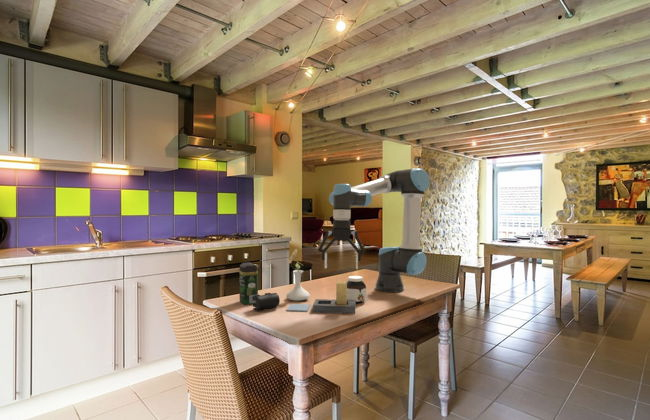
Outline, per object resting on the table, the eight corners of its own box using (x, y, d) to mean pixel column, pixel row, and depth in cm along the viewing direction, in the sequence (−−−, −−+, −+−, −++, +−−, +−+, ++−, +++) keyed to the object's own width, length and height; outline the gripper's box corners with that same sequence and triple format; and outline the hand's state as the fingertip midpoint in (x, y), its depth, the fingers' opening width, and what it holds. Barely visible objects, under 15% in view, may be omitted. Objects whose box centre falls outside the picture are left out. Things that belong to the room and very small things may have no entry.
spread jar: (347, 304, 160) (348, 279, 160) (340, 298, 171) (340, 274, 171) (372, 302, 163) (372, 278, 163) (363, 296, 174) (363, 273, 174)
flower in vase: (290, 295, 175) (290, 246, 175) (312, 297, 173) (312, 246, 173) (282, 302, 162) (282, 249, 162) (305, 304, 160) (305, 250, 160)
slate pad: (310, 305, 158) (310, 304, 158) (307, 311, 149) (307, 310, 149) (290, 305, 158) (290, 303, 158) (286, 311, 150) (286, 309, 150)
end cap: (259, 313, 146) (259, 297, 146) (251, 310, 151) (251, 294, 151) (279, 309, 153) (279, 293, 152) (271, 305, 158) (271, 290, 158)
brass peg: (346, 308, 154) (346, 281, 154) (346, 311, 149) (346, 283, 149) (336, 308, 154) (336, 281, 154) (336, 311, 150) (336, 283, 150)
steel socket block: (355, 306, 156) (355, 300, 156) (355, 313, 146) (355, 306, 146) (315, 305, 158) (315, 299, 158) (312, 312, 148) (312, 305, 148)
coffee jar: (237, 301, 165) (237, 262, 165) (253, 299, 169) (253, 260, 169) (243, 306, 157) (243, 265, 157) (260, 303, 161) (260, 263, 161)
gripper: (312, 219, 149) (311, 268, 149) (370, 220, 146) (370, 270, 146) (314, 218, 156) (313, 266, 156) (370, 219, 154) (369, 267, 154)
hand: (341, 268), depth 151 cm, fingers open, 13 cm apart
